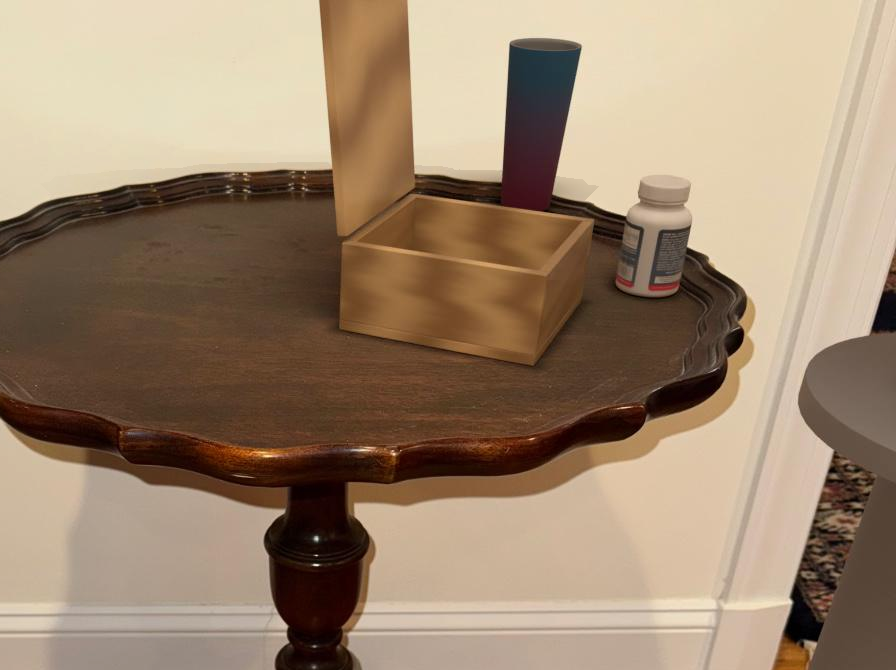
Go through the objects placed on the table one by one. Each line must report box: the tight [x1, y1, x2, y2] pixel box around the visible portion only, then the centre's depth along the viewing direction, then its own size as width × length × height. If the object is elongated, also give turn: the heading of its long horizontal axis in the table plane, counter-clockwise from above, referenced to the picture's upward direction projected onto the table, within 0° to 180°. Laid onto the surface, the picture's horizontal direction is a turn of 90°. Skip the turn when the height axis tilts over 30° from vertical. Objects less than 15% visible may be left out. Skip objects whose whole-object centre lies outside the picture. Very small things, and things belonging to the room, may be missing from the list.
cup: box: [500, 37, 583, 212], centre depth 111 cm, size 7×7×15 cm
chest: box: [338, 193, 595, 367], centre depth 89 cm, size 16×15×7 cm
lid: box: [318, 0, 416, 237], centre depth 85 cm, size 16×15×1 cm
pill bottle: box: [615, 174, 693, 298], centre depth 94 cm, size 5×5×9 cm
